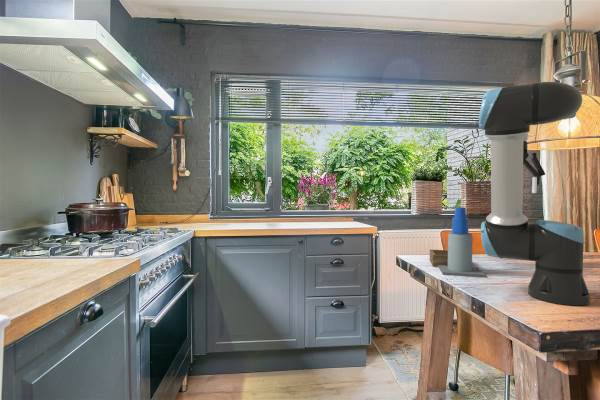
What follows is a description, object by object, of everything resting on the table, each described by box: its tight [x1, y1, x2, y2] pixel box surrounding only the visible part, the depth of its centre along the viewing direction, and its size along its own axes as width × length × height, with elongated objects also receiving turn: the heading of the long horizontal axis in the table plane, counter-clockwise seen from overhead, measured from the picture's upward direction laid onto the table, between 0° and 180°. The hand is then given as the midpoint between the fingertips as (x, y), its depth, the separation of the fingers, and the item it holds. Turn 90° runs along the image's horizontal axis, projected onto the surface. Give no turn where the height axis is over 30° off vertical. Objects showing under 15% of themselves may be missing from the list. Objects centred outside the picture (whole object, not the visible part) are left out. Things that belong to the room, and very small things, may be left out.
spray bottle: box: [447, 206, 474, 272], centre depth 138 cm, size 9×9×25 cm
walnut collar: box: [429, 249, 448, 268], centre depth 153 cm, size 14×14×5 cm
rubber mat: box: [438, 265, 487, 278], centre depth 138 cm, size 13×15×1 cm
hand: (515, 193), depth 144 cm, fingers open, 13 cm apart
